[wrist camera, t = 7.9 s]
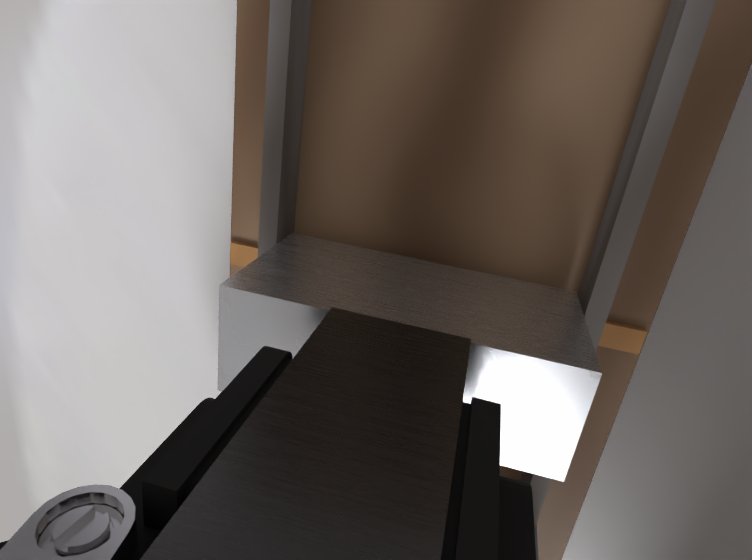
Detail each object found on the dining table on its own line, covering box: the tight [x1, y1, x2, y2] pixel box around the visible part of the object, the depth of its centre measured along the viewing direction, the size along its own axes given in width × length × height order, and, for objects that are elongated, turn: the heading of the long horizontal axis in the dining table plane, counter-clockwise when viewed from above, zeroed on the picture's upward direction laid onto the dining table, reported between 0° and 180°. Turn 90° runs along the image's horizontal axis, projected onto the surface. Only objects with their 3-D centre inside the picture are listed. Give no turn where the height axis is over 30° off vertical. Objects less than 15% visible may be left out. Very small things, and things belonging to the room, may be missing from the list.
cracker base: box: [230, 0, 752, 560], centre depth 15 cm, size 14×26×8 cm, turn 172°
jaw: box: [140, 233, 602, 560], centre depth 11 cm, size 9×3×13 cm, turn 82°
